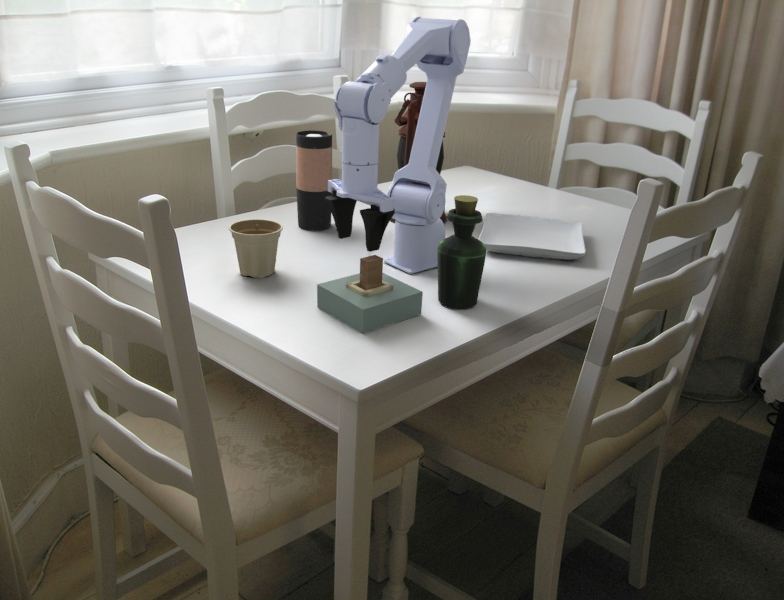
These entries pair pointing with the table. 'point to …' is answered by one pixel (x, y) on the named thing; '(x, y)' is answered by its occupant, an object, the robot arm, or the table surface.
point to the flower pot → (256, 245)
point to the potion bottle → (461, 257)
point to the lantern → (413, 131)
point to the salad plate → (533, 236)
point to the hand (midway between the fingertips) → (358, 243)
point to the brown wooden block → (371, 272)
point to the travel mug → (313, 179)
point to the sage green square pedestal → (369, 302)
